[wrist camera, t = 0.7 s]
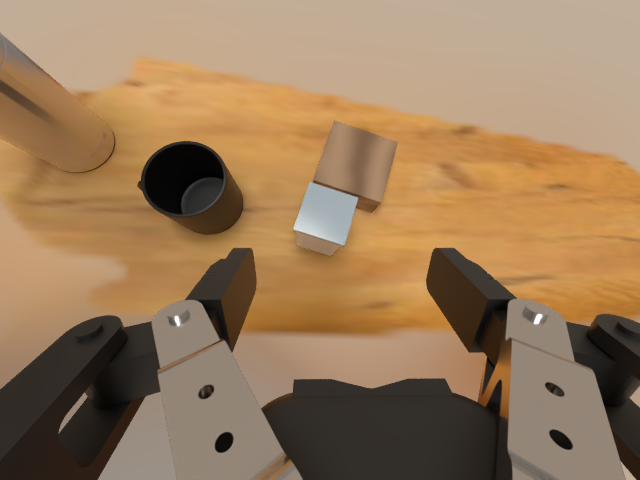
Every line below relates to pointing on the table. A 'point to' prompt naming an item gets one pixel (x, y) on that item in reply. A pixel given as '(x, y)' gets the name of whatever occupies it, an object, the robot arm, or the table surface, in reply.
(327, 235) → the grey lidded pillar
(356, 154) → the walnut block
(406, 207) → the table surface
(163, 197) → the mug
